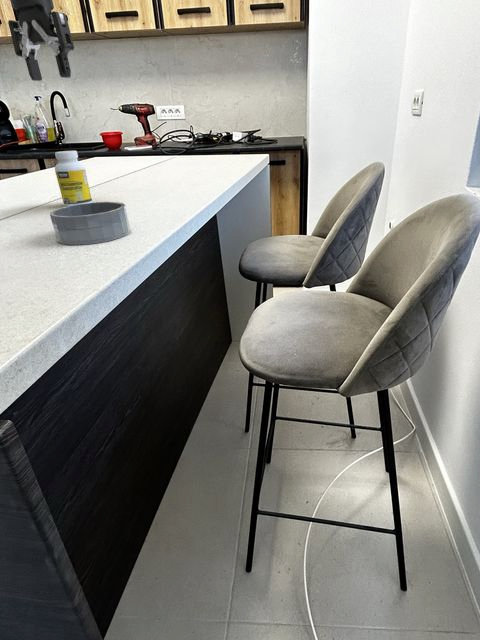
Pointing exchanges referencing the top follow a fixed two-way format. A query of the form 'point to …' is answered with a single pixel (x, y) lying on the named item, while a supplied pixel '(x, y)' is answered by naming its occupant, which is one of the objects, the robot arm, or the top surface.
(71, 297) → the top surface
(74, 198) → the pill bottle
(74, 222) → the dish
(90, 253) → the top surface
